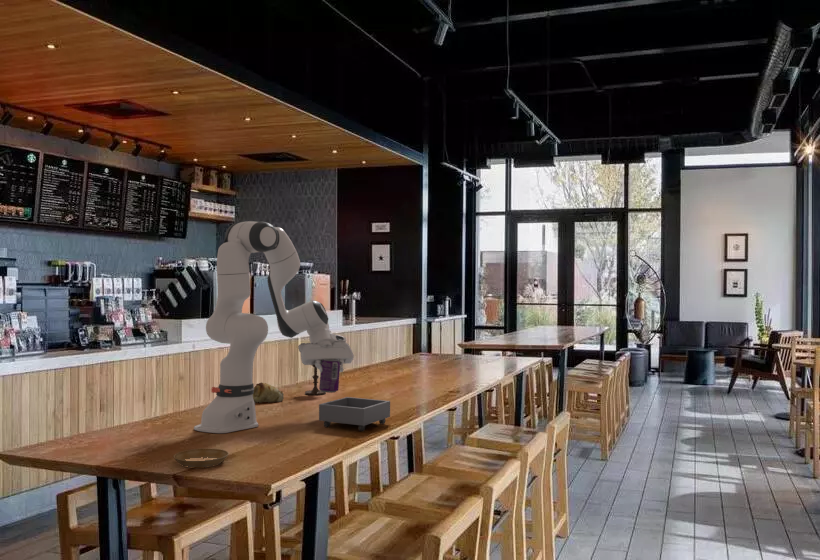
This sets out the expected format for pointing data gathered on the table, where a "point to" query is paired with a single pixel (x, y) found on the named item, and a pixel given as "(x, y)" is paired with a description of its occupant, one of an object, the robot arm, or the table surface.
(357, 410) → the parts cart
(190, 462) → the plant saucer
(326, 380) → the beverage can
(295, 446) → the table surface
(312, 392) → the candlestick
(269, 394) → the olive green rounded lump
